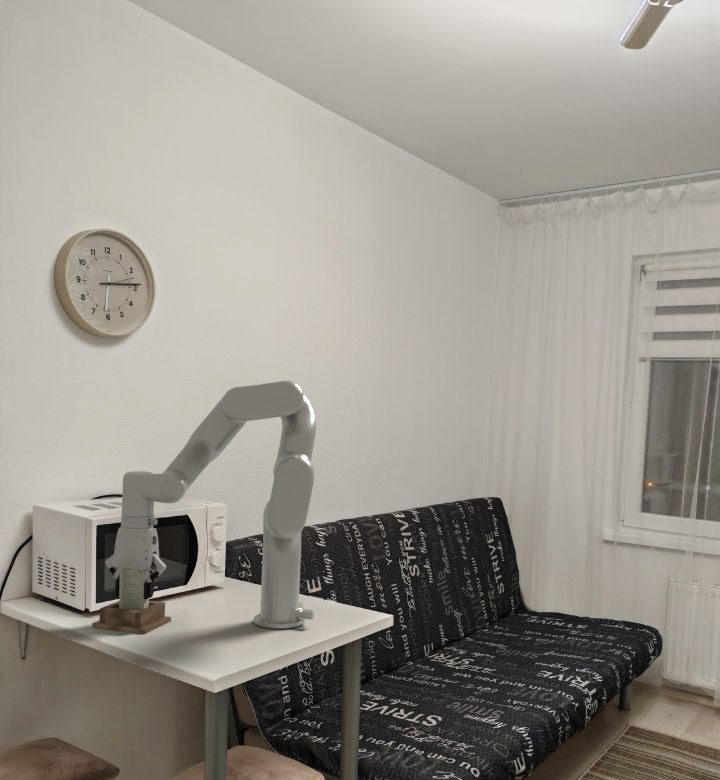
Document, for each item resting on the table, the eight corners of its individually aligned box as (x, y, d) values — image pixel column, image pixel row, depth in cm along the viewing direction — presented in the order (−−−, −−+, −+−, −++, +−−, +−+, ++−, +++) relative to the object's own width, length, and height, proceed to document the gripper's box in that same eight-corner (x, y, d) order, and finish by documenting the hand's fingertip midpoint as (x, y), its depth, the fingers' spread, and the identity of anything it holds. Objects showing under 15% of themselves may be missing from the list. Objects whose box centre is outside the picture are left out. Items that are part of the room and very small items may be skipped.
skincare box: (148, 611, 189) (150, 561, 189) (143, 616, 184) (145, 565, 185) (123, 611, 189) (125, 561, 189) (117, 615, 185) (119, 564, 185)
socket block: (170, 621, 191) (171, 602, 191) (145, 633, 179) (145, 614, 179) (120, 615, 194) (121, 597, 195) (92, 627, 183) (93, 608, 183)
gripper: (177, 523, 189) (174, 596, 188) (114, 518, 193) (111, 590, 193) (161, 527, 182) (158, 603, 181) (96, 522, 186) (93, 596, 186)
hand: (134, 596), depth 187 cm, fingers closed on skincare box, 6 cm apart
